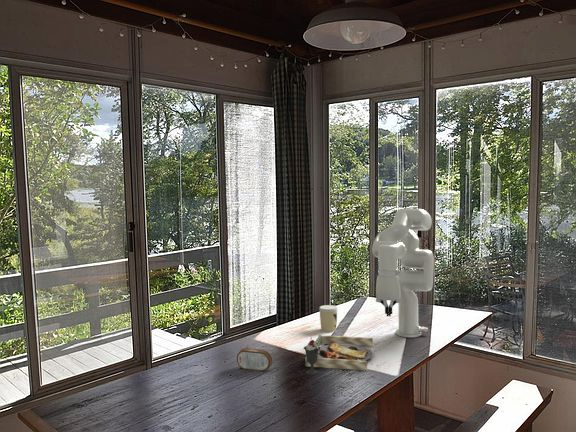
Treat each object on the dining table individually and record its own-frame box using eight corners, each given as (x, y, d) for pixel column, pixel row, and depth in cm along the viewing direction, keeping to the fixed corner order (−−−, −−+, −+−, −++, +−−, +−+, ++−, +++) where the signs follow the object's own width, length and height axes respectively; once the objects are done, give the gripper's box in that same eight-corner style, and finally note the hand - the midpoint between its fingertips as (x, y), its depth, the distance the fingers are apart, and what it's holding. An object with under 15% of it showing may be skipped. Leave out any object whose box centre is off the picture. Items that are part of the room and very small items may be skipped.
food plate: (304, 357, 211) (304, 349, 210) (335, 344, 228) (335, 337, 228) (353, 372, 194) (353, 364, 194) (382, 356, 212) (382, 349, 212)
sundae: (309, 377, 189) (308, 339, 188) (301, 371, 195) (300, 334, 194) (323, 373, 192) (323, 336, 191) (315, 368, 198) (314, 332, 197)
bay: (372, 345, 225) (372, 337, 225) (366, 370, 195) (366, 361, 195) (319, 342, 231) (319, 335, 231) (305, 366, 201) (305, 357, 201)
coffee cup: (338, 332, 246) (338, 309, 245) (320, 332, 246) (319, 309, 245) (337, 327, 255) (336, 304, 255) (319, 327, 255) (318, 305, 255)
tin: (272, 370, 198) (272, 349, 197) (270, 372, 195) (269, 352, 194) (239, 366, 203) (238, 346, 202) (236, 369, 200) (235, 349, 199)
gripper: (406, 271, 208) (406, 313, 209) (370, 271, 211) (371, 312, 213) (405, 275, 200) (406, 318, 202) (369, 275, 204) (370, 317, 206)
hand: (388, 315), depth 208 cm, fingers closed
